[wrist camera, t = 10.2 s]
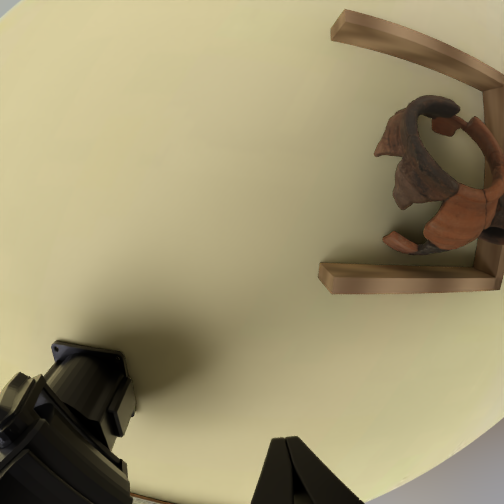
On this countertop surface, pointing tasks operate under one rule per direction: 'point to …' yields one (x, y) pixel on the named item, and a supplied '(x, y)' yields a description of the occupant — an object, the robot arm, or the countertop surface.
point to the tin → (145, 500)
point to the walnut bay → (500, 125)
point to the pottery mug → (443, 180)
